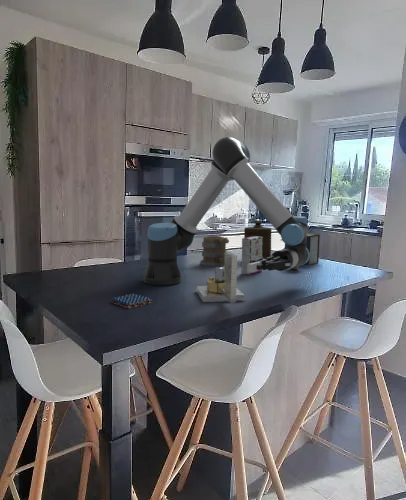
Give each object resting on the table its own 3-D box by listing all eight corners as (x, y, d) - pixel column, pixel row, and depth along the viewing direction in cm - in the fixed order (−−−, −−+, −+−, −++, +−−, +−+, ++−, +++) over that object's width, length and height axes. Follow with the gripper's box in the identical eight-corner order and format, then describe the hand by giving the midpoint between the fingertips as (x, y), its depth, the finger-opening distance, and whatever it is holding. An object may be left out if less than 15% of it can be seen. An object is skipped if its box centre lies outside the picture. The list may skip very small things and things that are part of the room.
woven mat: (155, 304, 121) (155, 297, 121) (128, 310, 113) (128, 304, 113) (135, 297, 128) (135, 292, 128) (108, 304, 120) (108, 298, 120)
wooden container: (252, 257, 214) (253, 219, 211) (275, 260, 205) (277, 220, 202) (238, 260, 203) (239, 220, 200) (261, 264, 193) (263, 222, 190)
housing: (203, 302, 122) (203, 272, 120) (196, 291, 135) (196, 264, 134) (244, 300, 124) (245, 271, 123) (233, 290, 138) (234, 263, 137)
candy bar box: (252, 270, 177) (254, 236, 175) (262, 271, 174) (263, 236, 172) (240, 273, 168) (241, 237, 166) (250, 275, 165) (251, 238, 163)
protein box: (295, 259, 211) (296, 232, 209) (318, 263, 200) (320, 234, 197) (283, 261, 205) (284, 233, 202) (307, 265, 193) (308, 235, 191)
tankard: (197, 262, 195) (197, 234, 193) (218, 261, 200) (219, 233, 198) (214, 269, 177) (215, 238, 175) (237, 268, 182) (238, 237, 180)
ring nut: (205, 287, 133) (205, 246, 131) (228, 286, 134) (229, 246, 132) (219, 304, 111) (220, 256, 109) (246, 303, 113) (248, 255, 111)
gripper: (299, 272, 134) (266, 282, 116) (268, 267, 142) (232, 276, 124) (300, 251, 133) (267, 259, 115) (268, 247, 141) (232, 254, 123)
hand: (249, 268), depth 120 cm, fingers closed
